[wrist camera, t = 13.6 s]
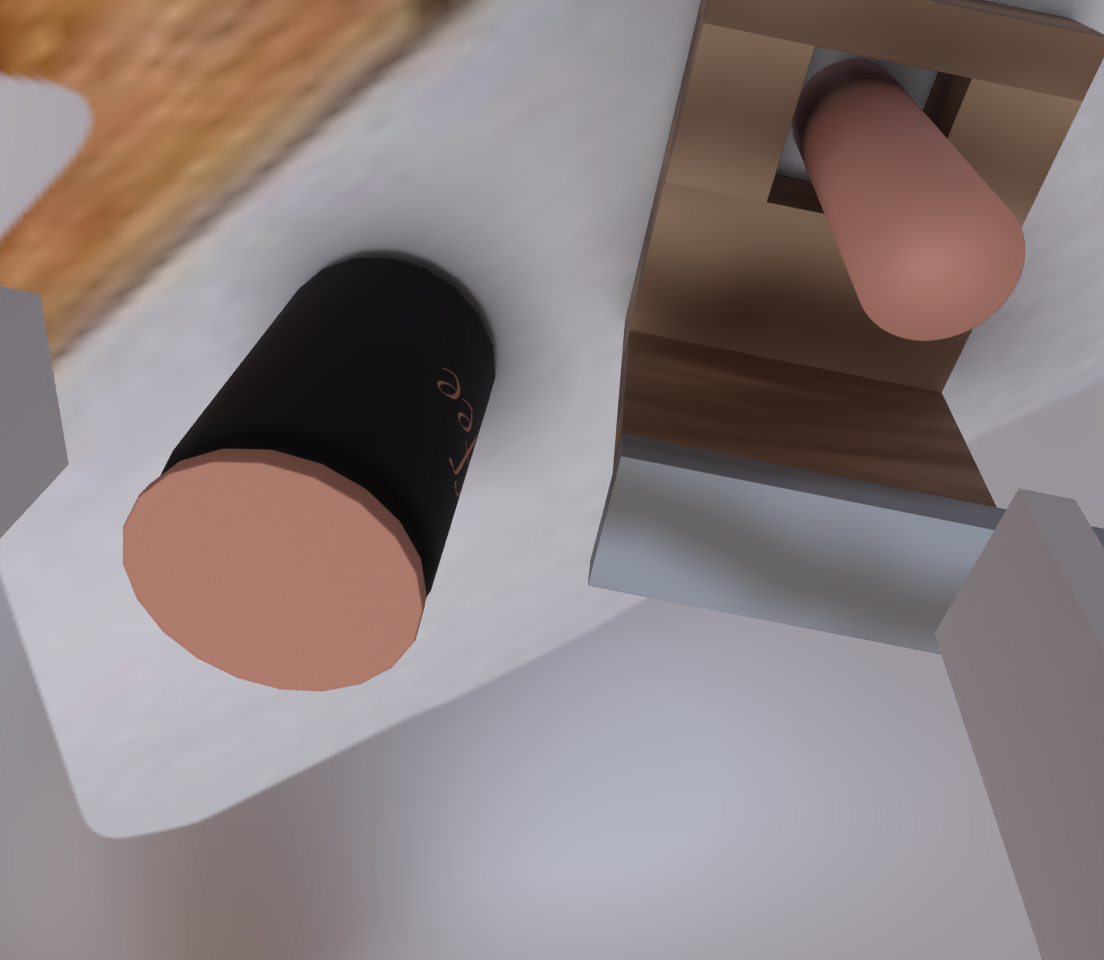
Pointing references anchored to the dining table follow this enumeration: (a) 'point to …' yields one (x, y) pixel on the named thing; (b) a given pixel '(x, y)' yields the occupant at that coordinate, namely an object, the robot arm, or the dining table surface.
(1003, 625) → the robot arm
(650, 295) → the station
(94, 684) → the dining table surface
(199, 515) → the coffee jar
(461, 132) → the dining table surface
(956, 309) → the peg
